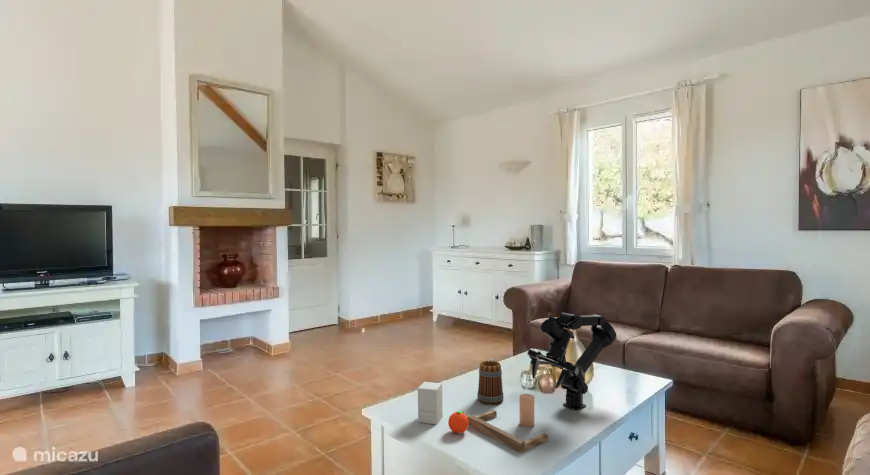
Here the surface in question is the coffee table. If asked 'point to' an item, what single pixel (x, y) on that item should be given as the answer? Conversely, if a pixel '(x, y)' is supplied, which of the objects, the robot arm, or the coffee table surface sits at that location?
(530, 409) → the tan cylinder
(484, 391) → the mug
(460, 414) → the clementine
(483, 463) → the coffee table surface
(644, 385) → the coffee table surface
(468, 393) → the coffee table surface
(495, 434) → the bay
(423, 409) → the supplement box
